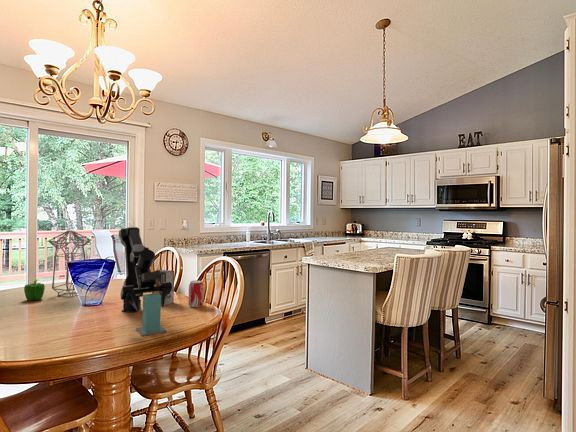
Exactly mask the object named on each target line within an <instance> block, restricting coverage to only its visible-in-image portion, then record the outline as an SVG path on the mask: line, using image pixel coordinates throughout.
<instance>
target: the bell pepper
mask: <svg viewBox="0 0 576 432" xmlns="http://www.w3.org/2000/svg"><path fill="white" fill-rule="evenodd" d="M23 289H24V290H23V291H24V296H25V299H26V300H27V301H30V302H31V301H39V300H41V299H42V298H43V296H44V293H45V284H44V283H41V282H38V279H37V278H35V279H34V281H33V283H28V284H25V285H24V287H23Z"/></svg>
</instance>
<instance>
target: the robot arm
mask: <svg viewBox="0 0 576 432" xmlns="http://www.w3.org/2000/svg"><path fill="white" fill-rule="evenodd" d="M140 234H141V232H140V228H139V227H137V226H128V227H122V228H121V229H119V230H118V239H119V241H120V244H121V245H122V246H123V247H124V257H125V269H126V271H125V272H126V277H125V279H124V281H123V284H122V286H121V289H120V300H122V301H123V304H122V305H123V307H122V308H123V309H121V313H123V312H124V313H136V312H139V311H140V310H141V309H142V307H141V305H142V300H141V298H143V295H144V294H149V293H152V292H157V291H159V294H160V296H161V308H163V309H164V307H165V305H164V302H165V296H167V295H168V294H170V292H171V289H172V287H173V286H172V283H171V282H162V283H161V285H160V286H156V287H154V285H155V284H156V280H157V279H160V278H161V272H160V270H161V269H156V270H154V271H155V272H152V271H151V268H152V267H153V265H154V260H155V258H156V253H155V252H154V250H152V249H150V248H149V247H146V246H144V244H143V241H142V238H141V235H140Z"/></svg>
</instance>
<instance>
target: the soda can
mask: <svg viewBox="0 0 576 432" xmlns="http://www.w3.org/2000/svg"><path fill="white" fill-rule="evenodd" d="M203 283H204V282H203V280H191V281H190V282H189V285H188V306H189V307H191V308H200V307H202V306H203V305H204V287H205V286H204V284H203Z"/></svg>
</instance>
